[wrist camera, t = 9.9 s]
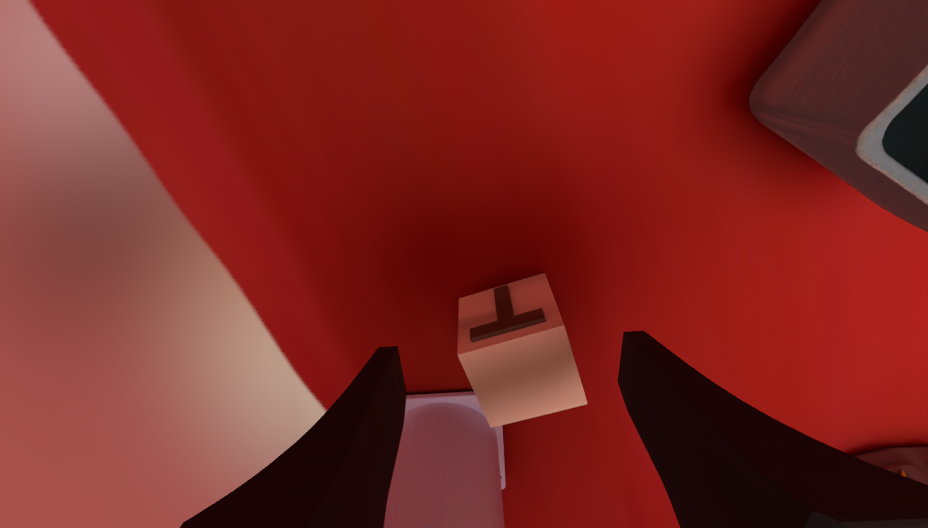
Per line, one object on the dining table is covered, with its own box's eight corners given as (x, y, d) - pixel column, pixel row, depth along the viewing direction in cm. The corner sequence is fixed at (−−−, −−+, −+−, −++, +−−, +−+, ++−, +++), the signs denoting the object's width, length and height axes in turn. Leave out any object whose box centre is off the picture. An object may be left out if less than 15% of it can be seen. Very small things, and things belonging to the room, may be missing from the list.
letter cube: (565, 341, 24) (587, 403, 20) (486, 362, 25) (490, 427, 21) (543, 268, 22) (563, 320, 18) (457, 294, 23) (455, 350, 19)
